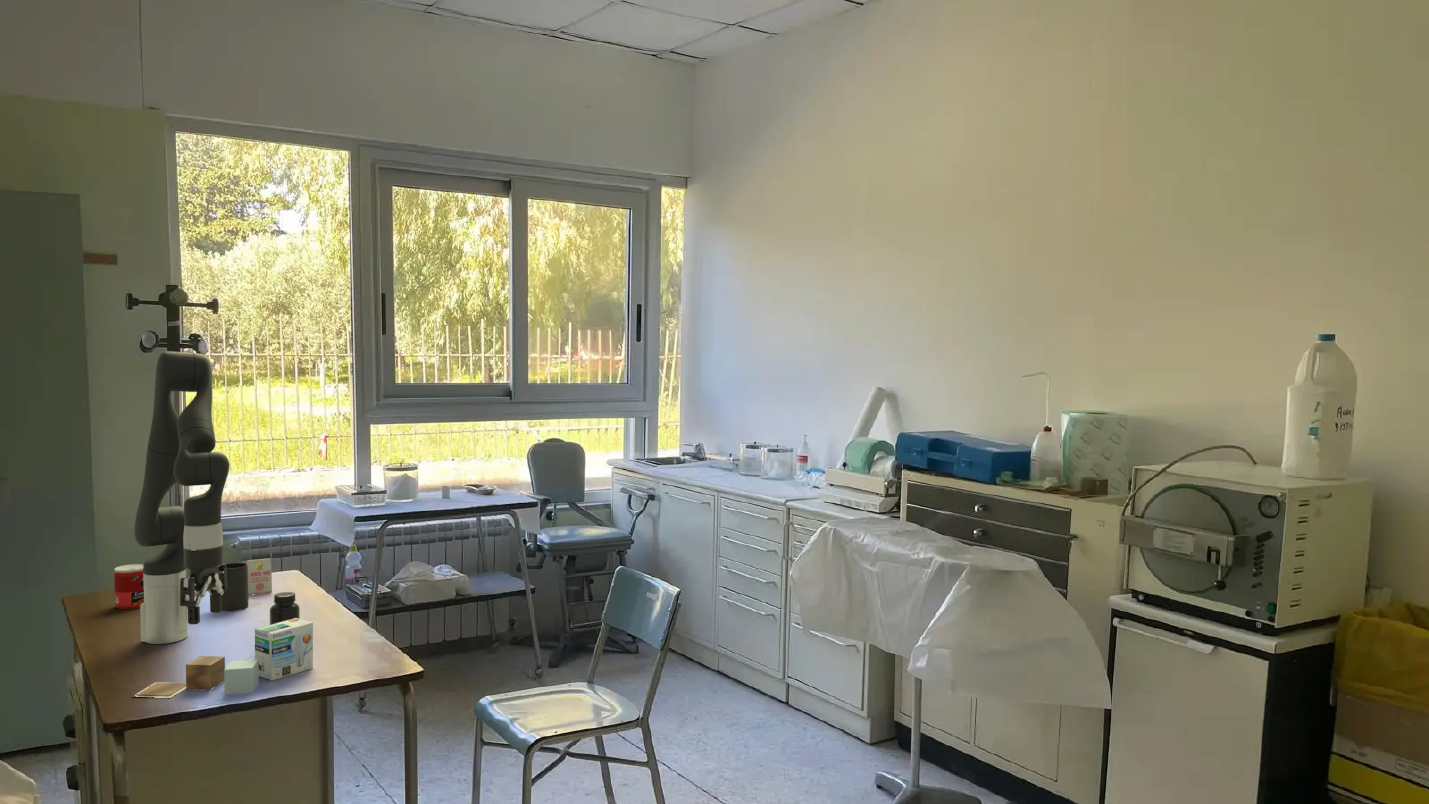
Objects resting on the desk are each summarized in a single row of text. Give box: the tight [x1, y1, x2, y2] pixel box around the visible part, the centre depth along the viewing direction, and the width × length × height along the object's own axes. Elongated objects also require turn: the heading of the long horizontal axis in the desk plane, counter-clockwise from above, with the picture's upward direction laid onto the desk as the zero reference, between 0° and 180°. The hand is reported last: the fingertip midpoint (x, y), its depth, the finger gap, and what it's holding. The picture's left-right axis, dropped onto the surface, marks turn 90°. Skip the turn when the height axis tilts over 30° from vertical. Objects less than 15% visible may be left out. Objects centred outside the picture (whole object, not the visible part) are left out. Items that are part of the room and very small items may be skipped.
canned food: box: [113, 563, 144, 610], centre depth 263 cm, size 8×8×11 cm
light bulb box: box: [254, 618, 314, 681], centre depth 213 cm, size 11×7×11 cm, turn 148°
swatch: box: [134, 681, 187, 699], centre depth 200 cm, size 8×8×1 cm
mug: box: [209, 562, 249, 612], centre depth 261 cm, size 10×7×12 cm
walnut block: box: [185, 655, 226, 690], centre depth 204 cm, size 6×6×6 cm
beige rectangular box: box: [244, 557, 273, 596], centre depth 278 cm, size 4×7×10 cm, turn 122°
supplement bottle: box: [269, 591, 301, 625], centre depth 234 cm, size 7×7×12 cm
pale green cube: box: [223, 659, 260, 695], centre depth 202 cm, size 6×6×6 cm
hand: (205, 618), depth 203 cm, fingers open, 8 cm apart
